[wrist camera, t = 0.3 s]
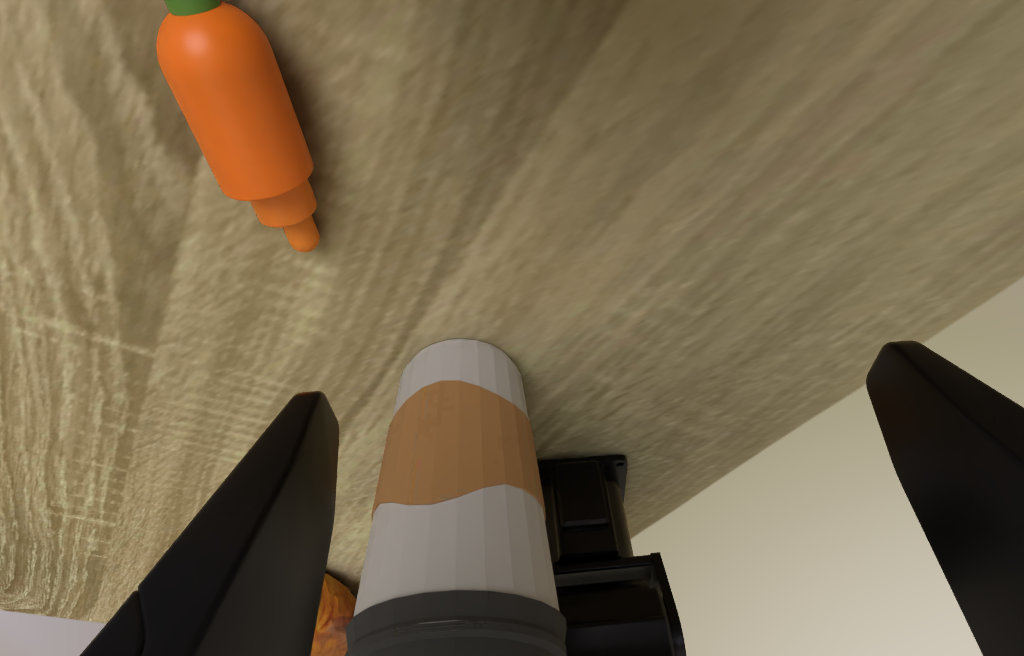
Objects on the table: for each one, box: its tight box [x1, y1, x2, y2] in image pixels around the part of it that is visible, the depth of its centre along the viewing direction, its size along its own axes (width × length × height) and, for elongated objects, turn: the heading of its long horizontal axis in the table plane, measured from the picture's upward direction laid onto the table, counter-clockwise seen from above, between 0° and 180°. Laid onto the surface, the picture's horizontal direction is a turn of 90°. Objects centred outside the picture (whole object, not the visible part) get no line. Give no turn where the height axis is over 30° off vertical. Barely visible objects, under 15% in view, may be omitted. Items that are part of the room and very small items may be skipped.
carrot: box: [157, 0, 320, 252], centre depth 20 cm, size 10×3×3 cm, turn 5°
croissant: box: [311, 573, 357, 656], centre depth 49 cm, size 14×16×8 cm
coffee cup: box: [345, 339, 567, 656], centre depth 26 cm, size 8×8×15 cm
